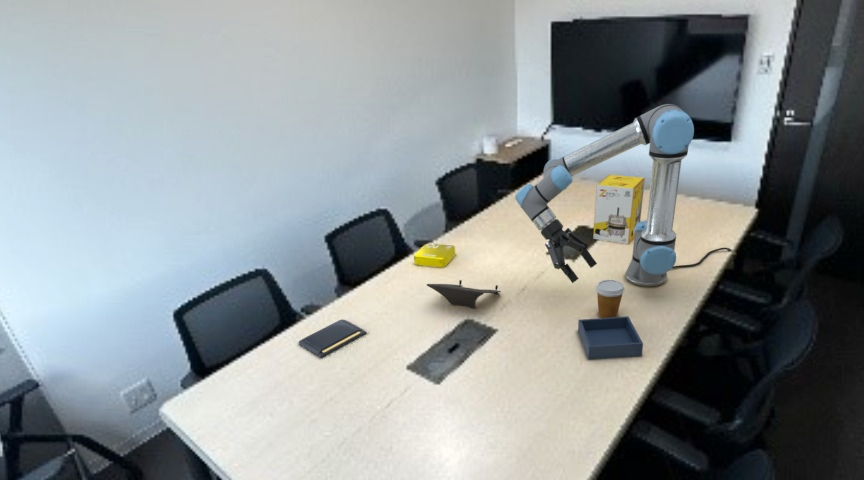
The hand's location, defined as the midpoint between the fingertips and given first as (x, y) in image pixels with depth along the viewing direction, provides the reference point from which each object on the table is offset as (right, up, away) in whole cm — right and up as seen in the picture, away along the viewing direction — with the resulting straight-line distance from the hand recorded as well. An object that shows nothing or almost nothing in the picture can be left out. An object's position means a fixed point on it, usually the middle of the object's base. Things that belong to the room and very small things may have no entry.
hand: (585, 273), depth 187 cm
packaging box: (+29, +25, +61) cm, 72 cm away
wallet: (-89, -23, +4) cm, 92 cm away
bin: (+5, -24, -12) cm, 28 cm away
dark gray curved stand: (-40, -8, +19) cm, 46 cm away
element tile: (-54, +12, +54) cm, 78 cm away
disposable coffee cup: (+9, -15, +2) cm, 17 cm away
